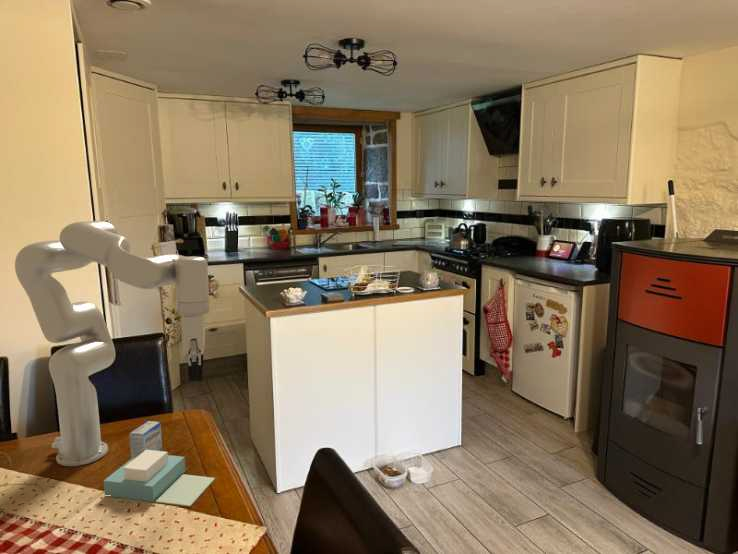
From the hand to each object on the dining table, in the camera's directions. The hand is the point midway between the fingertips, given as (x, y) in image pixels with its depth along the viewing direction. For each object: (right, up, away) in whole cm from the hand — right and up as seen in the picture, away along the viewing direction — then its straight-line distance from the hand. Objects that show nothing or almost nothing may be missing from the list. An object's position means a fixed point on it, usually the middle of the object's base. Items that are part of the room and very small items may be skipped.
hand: (196, 373), depth 128 cm
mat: (-2, -28, -2) cm, 28 cm away
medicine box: (-18, -26, +14) cm, 35 cm away
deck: (-13, -28, +1) cm, 31 cm away
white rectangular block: (-12, -24, -1) cm, 27 cm away
